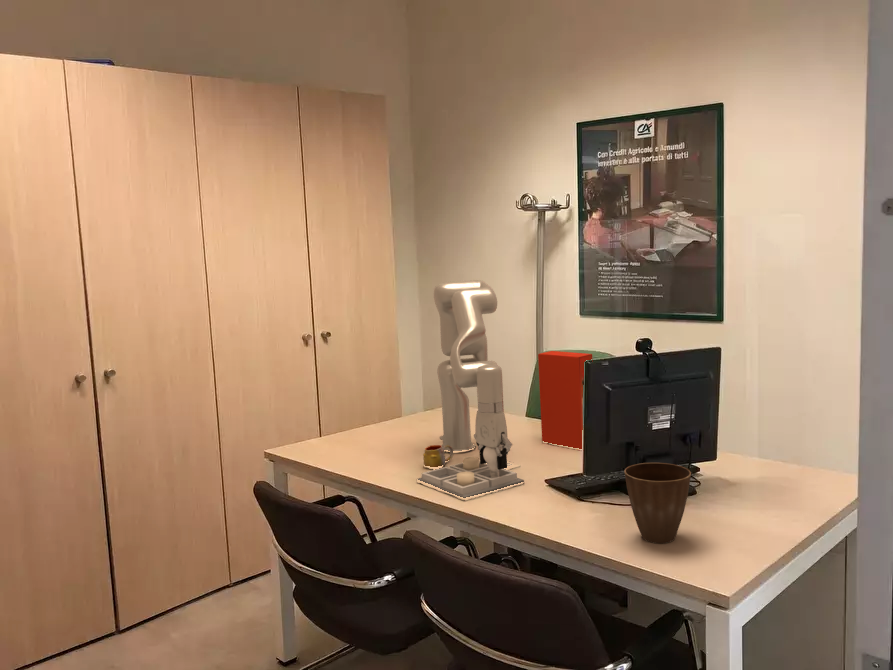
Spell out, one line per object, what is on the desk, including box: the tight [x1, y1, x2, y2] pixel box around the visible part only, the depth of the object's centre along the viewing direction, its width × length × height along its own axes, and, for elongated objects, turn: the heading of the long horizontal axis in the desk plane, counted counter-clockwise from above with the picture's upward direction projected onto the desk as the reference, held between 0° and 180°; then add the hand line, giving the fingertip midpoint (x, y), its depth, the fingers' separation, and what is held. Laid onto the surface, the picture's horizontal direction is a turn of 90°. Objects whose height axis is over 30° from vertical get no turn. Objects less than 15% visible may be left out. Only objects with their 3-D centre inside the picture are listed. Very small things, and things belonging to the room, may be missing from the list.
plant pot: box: [624, 462, 692, 544], centre depth 180 cm, size 15×15×16 cm
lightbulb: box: [483, 446, 502, 478], centre depth 228 cm, size 6×6×11 cm
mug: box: [422, 444, 454, 467], centre depth 250 cm, size 12×7×7 cm, turn 131°
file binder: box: [537, 350, 593, 449], centre depth 266 cm, size 8×17×32 cm, turn 43°
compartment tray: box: [417, 456, 525, 498], centre depth 230 cm, size 24×22×5 cm
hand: (493, 465), depth 228 cm, fingers open, 7 cm apart
